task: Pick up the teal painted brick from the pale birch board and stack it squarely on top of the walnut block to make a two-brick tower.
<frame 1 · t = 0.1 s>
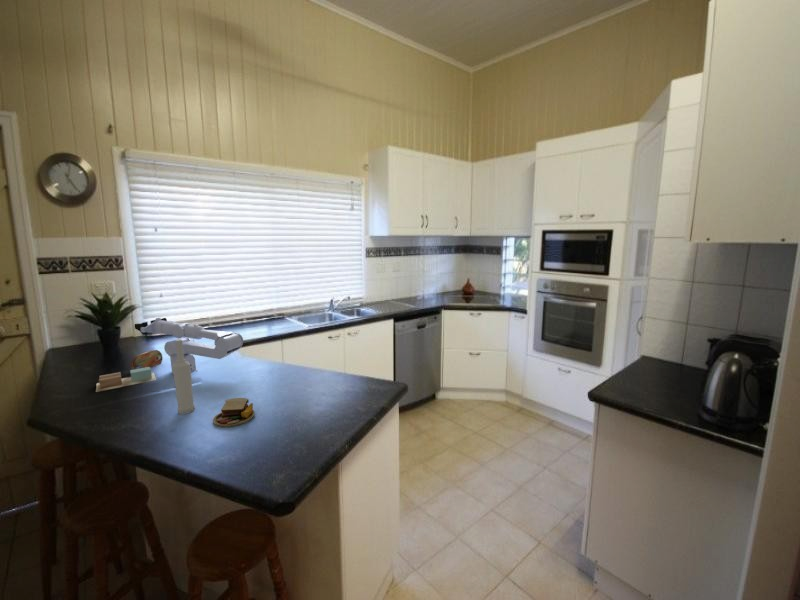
hand: (143, 324, 172), 22 cm above the counter, tool horizontal, fingers open, 7 cm apart
birch board: (127, 383, 157), on the counter
toy sandwich meal: (233, 419, 123), on the counter
tin: (148, 370, 176), on the counter
walnut block: (111, 384, 154), point 1 cm above the counter, touching birch board
bottle: (186, 411, 129), on the counter
teal brick: (141, 378, 160), point 1 cm above the counter, touching birch board
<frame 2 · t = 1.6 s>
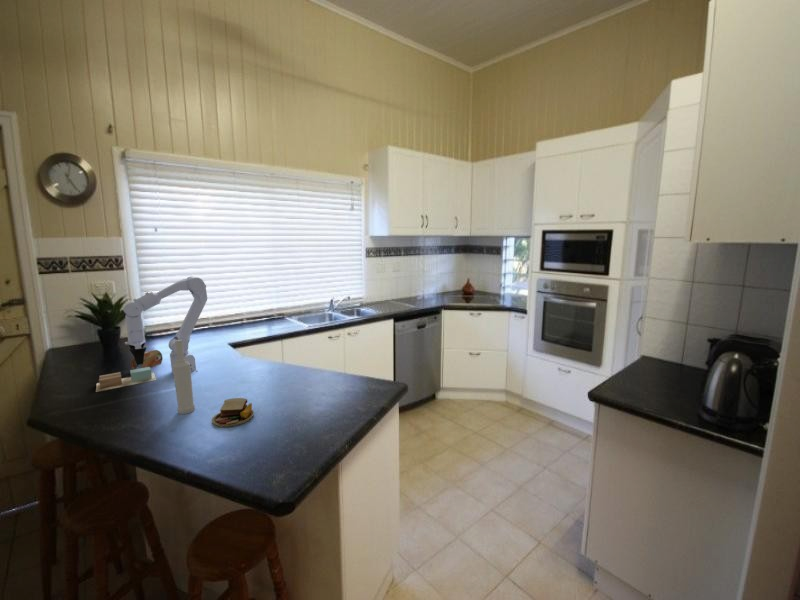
hand: (139, 362, 159), 8 cm above the counter, tool pointing down, fingers open, 7 cm apart
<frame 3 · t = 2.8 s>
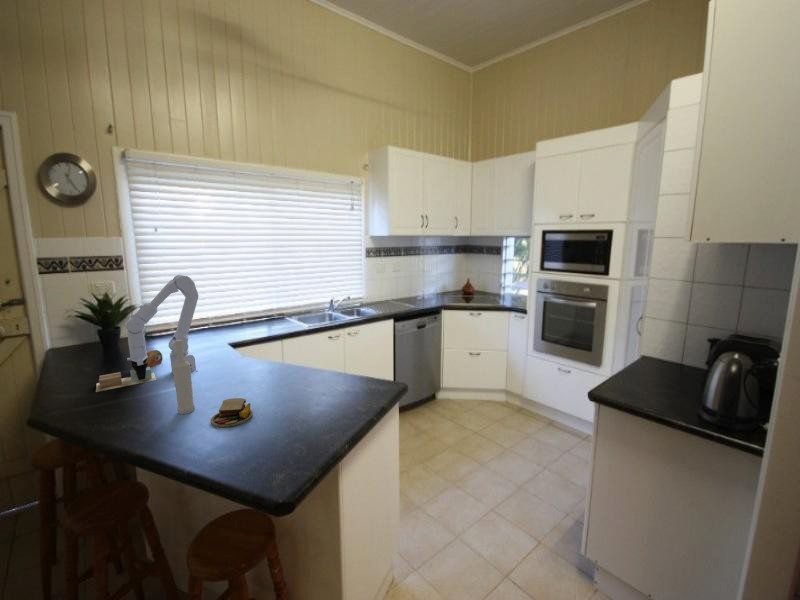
hand: (141, 377, 160), 2 cm above the counter, tool pointing down, fingers closed on teal brick, 5 cm apart
teal brick: (141, 378, 160), point 1 cm above the counter, touching birch board, gripper
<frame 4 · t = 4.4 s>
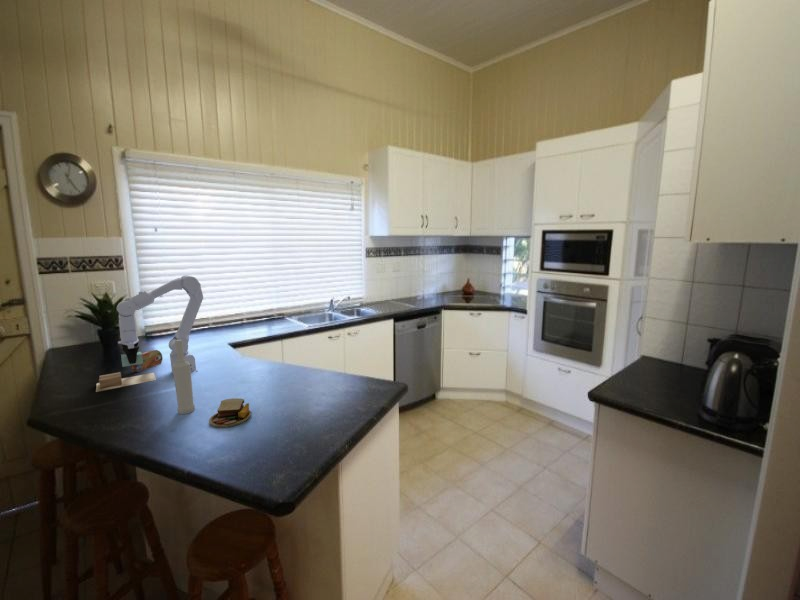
hand: (132, 361, 158), 9 cm above the counter, tool pointing down, fingers closed on teal brick, 5 cm apart
teal brick: (132, 363, 158), point 8 cm above the counter, touching gripper
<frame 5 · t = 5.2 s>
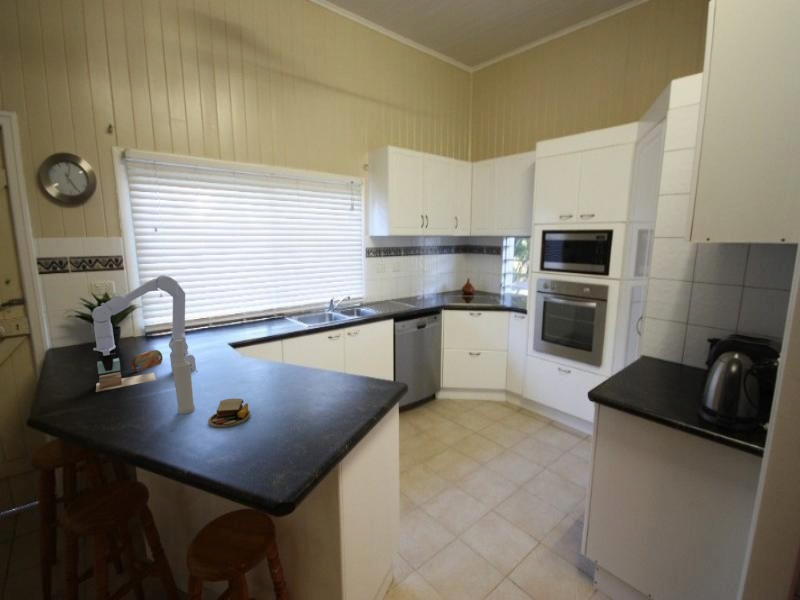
hand: (109, 368, 153), 8 cm above the counter, tool pointing down, fingers closed on teal brick, 5 cm apart
teal brick: (109, 370, 154), point 7 cm above the counter, touching gripper
when the fingers open (6 cm above the counter, at t = 6.0 s): teal brick stays where it is, resting on walnut block.
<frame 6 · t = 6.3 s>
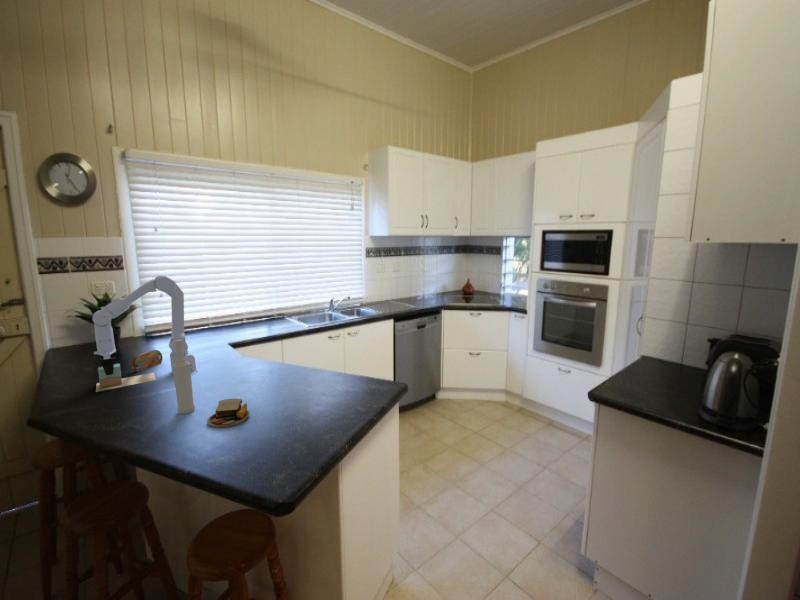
hand: (109, 372, 154), 6 cm above the counter, tool pointing down, fingers open, 7 cm apart
walnut block: (111, 384, 154), point 1 cm above the counter, touching birch board, teal brick
teal brick: (110, 376, 154), point 4 cm above the counter, touching walnut block
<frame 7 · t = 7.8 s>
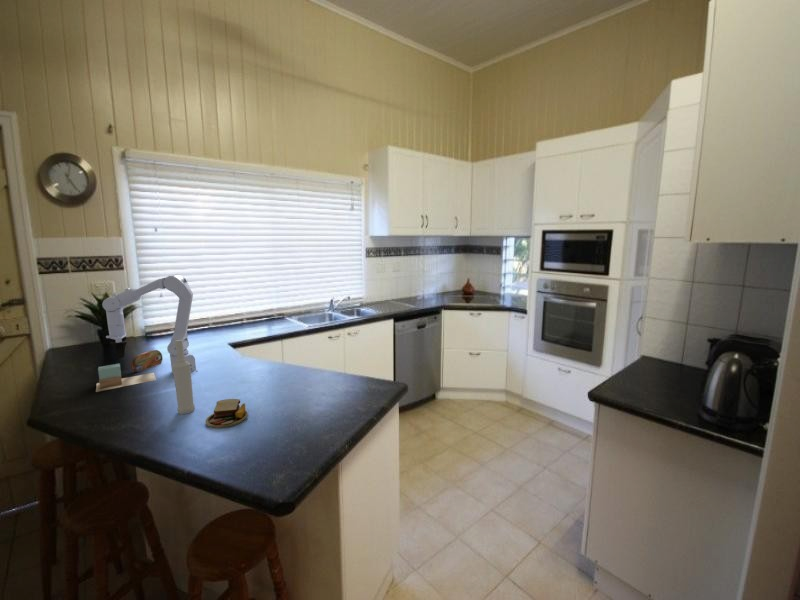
hand: (120, 355, 162), 10 cm above the counter, tool pointing down, fingers open, 7 cm apart
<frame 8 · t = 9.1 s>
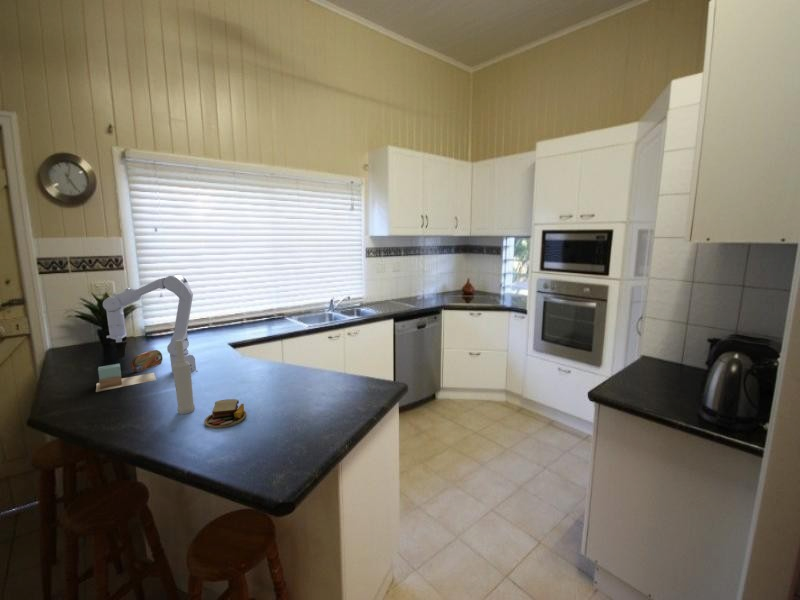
hand: (121, 355, 162), 10 cm above the counter, tool pointing down, fingers open, 7 cm apart
at the end: teal brick 0.1 cm off-centre on the walnut block, point 3.5 cm above the walnut block's base; teal brick tilted 0°; the gripper is holding nothing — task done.
